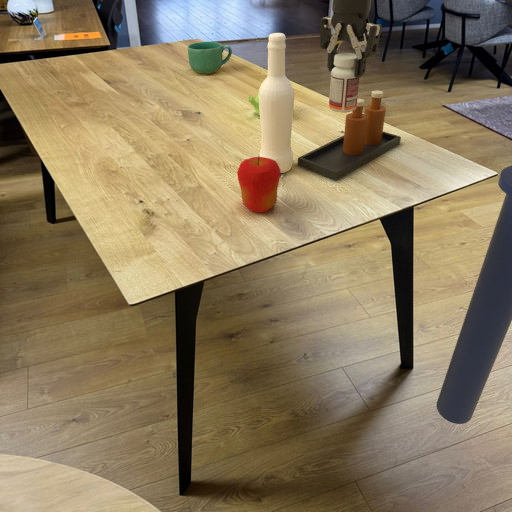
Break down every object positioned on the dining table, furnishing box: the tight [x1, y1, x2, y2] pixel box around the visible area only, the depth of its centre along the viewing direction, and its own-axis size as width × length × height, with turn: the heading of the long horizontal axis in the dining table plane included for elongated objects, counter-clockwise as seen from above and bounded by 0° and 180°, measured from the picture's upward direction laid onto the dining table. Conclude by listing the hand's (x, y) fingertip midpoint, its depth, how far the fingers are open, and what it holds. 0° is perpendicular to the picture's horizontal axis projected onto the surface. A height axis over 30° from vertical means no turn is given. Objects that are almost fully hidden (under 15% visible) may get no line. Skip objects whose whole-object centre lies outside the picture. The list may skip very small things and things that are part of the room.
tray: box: [297, 131, 402, 181], centre depth 120 cm, size 28×12×2 cm, turn 135°
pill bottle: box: [328, 52, 360, 114], centre depth 104 cm, size 6×6×11 cm
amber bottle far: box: [363, 89, 387, 146], centre depth 121 cm, size 5×5×13 cm
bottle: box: [257, 32, 295, 175], centre depth 107 cm, size 8×8×30 cm
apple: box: [236, 156, 281, 213], centre depth 97 cm, size 9×8×12 cm
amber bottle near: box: [343, 98, 368, 155], centre depth 117 cm, size 5×5×13 cm
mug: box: [187, 41, 233, 75], centre depth 180 cm, size 17×13×10 cm
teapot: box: [247, 87, 260, 116], centre depth 142 cm, size 11×12×8 cm
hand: (345, 73), depth 103 cm, fingers closed on pill bottle, 6 cm apart
